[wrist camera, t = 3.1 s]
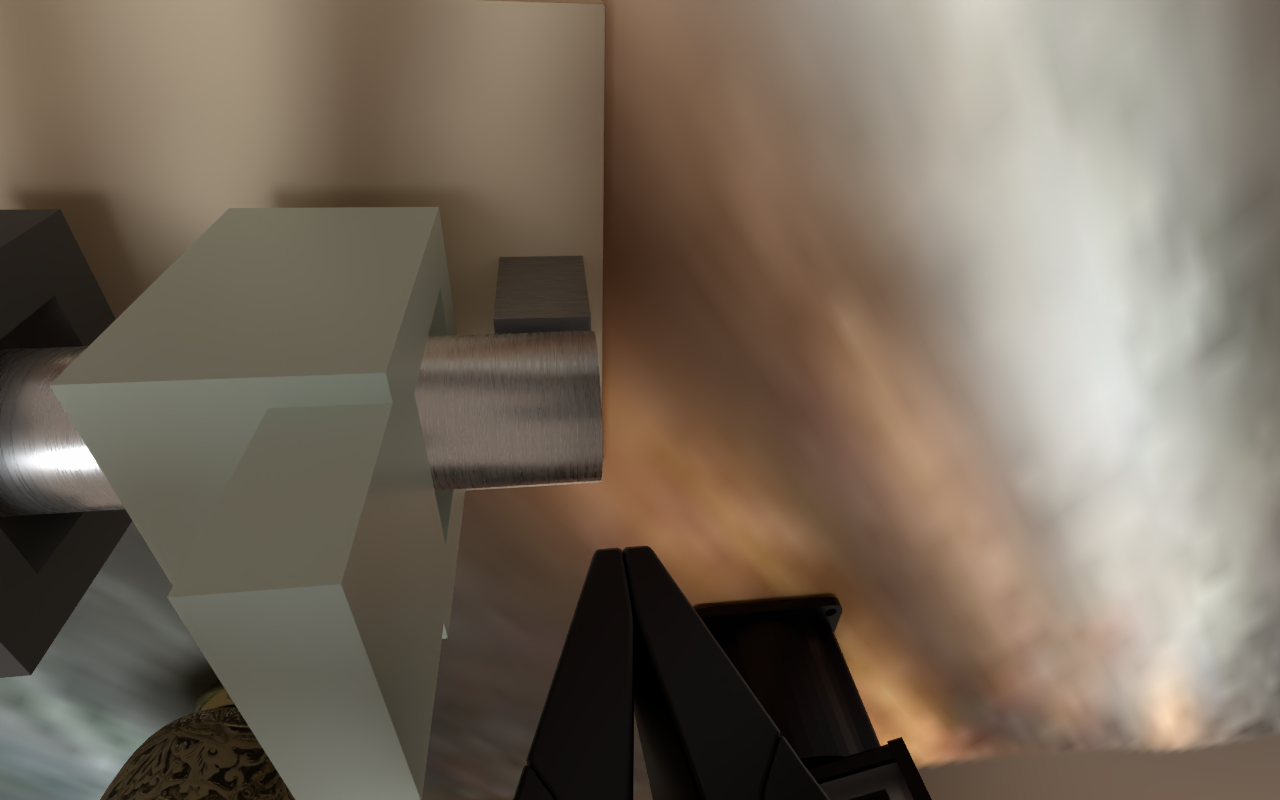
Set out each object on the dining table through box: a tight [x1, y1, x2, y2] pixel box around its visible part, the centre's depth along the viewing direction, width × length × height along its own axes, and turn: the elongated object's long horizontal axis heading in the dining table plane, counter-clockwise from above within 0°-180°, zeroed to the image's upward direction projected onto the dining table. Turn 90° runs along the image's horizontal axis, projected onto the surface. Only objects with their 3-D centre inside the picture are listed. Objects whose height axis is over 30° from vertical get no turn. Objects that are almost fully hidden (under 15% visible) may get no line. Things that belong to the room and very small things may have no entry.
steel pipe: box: [0, 256, 603, 517], centre depth 13 cm, size 22×3×6 cm, turn 88°
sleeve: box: [49, 207, 465, 800], centre depth 11 cm, size 4×6×9 cm, turn 178°
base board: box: [0, 0, 605, 491], centre depth 16 cm, size 23×13×1 cm, turn 88°
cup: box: [100, 680, 295, 800], centre depth 23 cm, size 8×7×8 cm
